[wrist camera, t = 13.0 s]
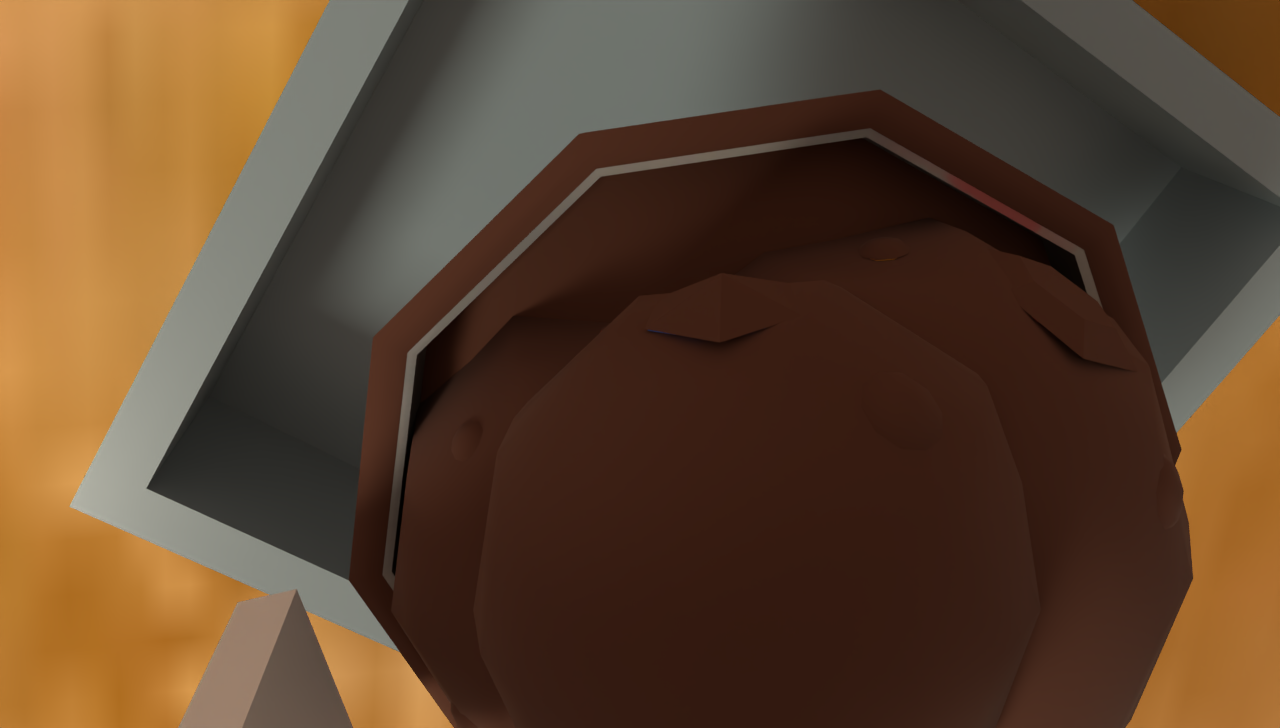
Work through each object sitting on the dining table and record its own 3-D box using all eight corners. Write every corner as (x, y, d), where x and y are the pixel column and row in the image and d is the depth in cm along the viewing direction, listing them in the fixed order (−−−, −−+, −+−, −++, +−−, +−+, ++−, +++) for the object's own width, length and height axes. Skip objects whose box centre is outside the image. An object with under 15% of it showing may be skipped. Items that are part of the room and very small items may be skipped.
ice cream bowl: (404, 485, 24) (218, 1246, 10) (465, -37, 20) (293, 72, 6) (854, 539, 26) (1214, 1264, 12) (996, 65, 22) (1793, 332, 8)
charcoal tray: (1219, 142, 24) (1382, 198, 19) (776, 688, 29) (821, 837, 24) (556, -364, 19) (561, -452, 14) (159, 391, 24) (69, 506, 19)
